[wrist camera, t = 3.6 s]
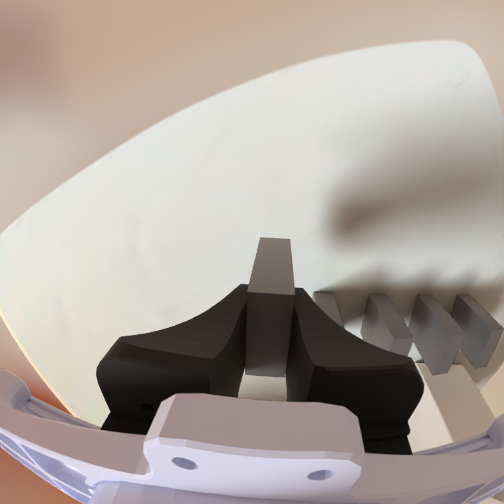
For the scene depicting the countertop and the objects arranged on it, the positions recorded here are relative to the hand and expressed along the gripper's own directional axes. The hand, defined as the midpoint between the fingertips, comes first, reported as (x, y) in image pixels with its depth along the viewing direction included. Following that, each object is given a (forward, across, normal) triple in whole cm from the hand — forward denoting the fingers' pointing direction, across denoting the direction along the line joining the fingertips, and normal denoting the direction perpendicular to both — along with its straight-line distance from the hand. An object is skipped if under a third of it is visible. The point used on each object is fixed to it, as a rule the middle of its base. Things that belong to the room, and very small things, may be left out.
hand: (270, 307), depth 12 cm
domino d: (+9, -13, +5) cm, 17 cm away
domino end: (+9, -17, +5) cm, 20 cm away
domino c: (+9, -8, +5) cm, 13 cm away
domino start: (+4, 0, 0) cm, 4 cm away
